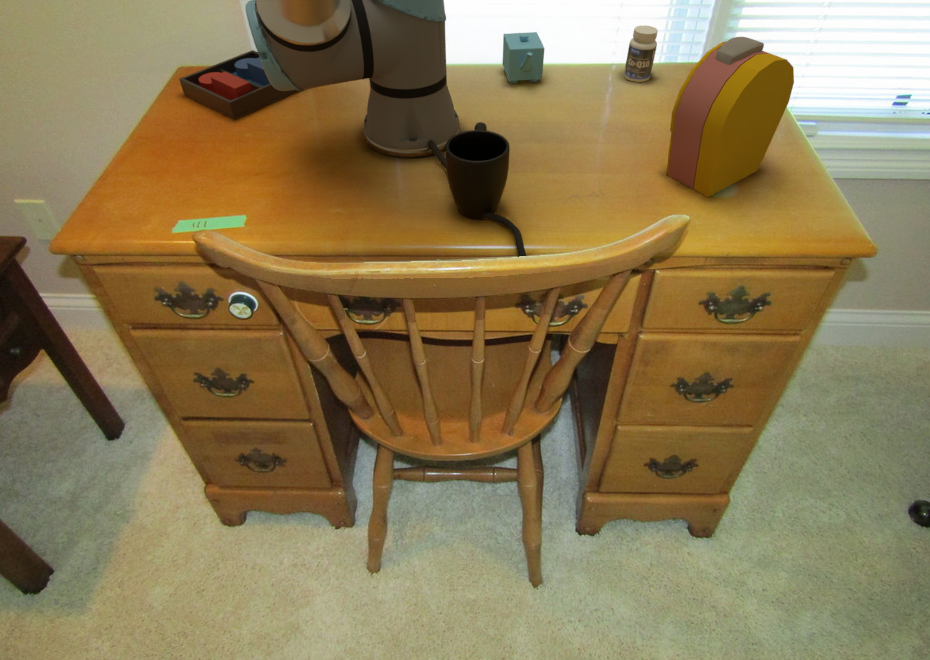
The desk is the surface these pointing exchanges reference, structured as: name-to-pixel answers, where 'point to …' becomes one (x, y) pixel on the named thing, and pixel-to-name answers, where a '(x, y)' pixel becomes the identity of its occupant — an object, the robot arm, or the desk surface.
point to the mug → (477, 170)
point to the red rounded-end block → (225, 84)
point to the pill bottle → (641, 54)
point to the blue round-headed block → (251, 70)
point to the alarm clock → (727, 115)
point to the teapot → (523, 56)
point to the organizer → (236, 106)
